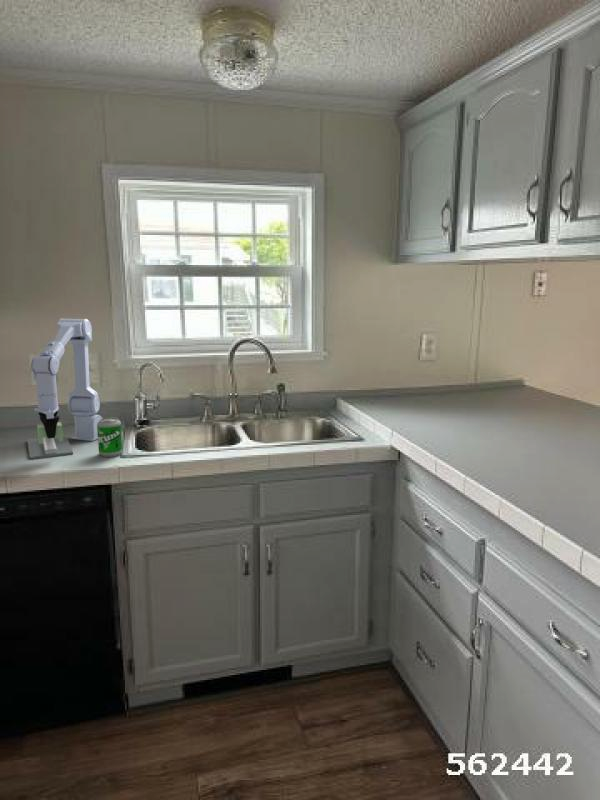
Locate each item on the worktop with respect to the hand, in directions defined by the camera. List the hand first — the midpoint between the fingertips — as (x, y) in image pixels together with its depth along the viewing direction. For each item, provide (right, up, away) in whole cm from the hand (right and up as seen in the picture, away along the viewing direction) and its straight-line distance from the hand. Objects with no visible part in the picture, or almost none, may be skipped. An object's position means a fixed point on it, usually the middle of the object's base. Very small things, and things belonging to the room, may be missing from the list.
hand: (50, 435), depth 175 cm
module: (0, -2, 0) cm, 2 cm away
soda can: (+16, -7, +9) cm, 20 cm away
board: (-7, -5, +15) cm, 17 cm away
